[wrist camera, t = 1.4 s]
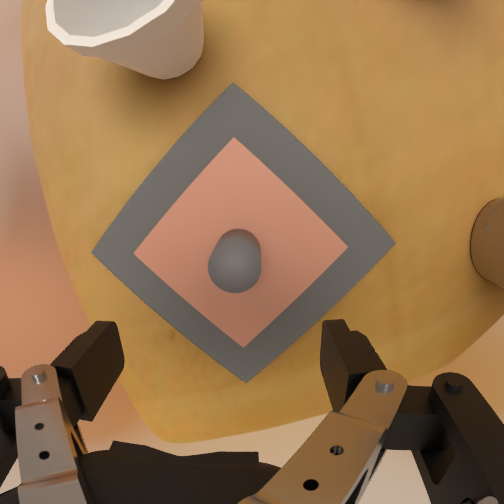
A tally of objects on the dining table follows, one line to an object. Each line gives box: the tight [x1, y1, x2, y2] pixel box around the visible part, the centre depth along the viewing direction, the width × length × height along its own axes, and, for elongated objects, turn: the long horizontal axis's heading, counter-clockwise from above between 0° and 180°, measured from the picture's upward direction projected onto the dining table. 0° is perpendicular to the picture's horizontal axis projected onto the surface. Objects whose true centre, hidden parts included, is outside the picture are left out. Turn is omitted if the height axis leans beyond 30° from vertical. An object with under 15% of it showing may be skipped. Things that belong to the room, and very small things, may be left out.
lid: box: [133, 137, 348, 348], centre depth 24 cm, size 13×13×6 cm
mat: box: [91, 83, 395, 383], centre depth 28 cm, size 20×20×1 cm
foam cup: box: [45, 0, 204, 80], centre depth 17 cm, size 10×9×13 cm
